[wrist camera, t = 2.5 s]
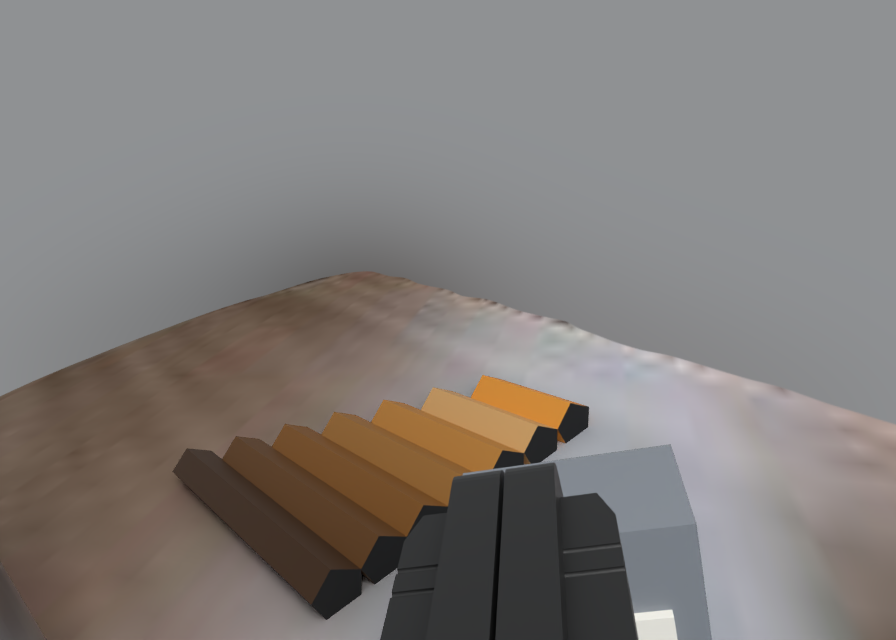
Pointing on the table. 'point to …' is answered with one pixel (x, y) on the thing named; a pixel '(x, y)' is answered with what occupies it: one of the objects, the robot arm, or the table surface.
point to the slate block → (648, 535)
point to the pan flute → (369, 479)
